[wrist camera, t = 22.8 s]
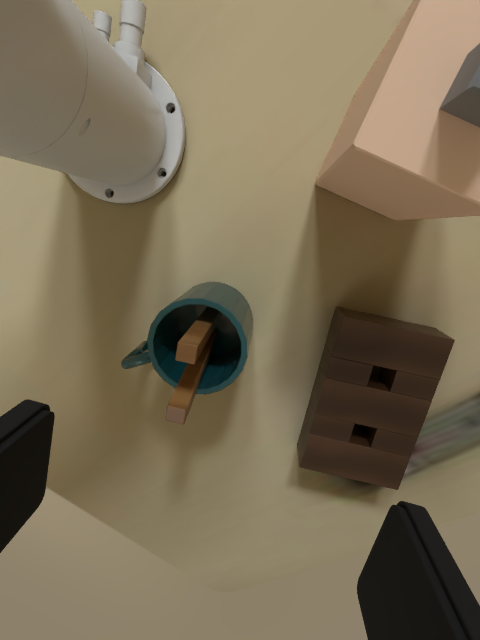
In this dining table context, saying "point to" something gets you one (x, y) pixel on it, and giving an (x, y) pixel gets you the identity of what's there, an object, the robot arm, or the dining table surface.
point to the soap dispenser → (416, 120)
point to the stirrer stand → (371, 397)
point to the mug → (176, 323)
